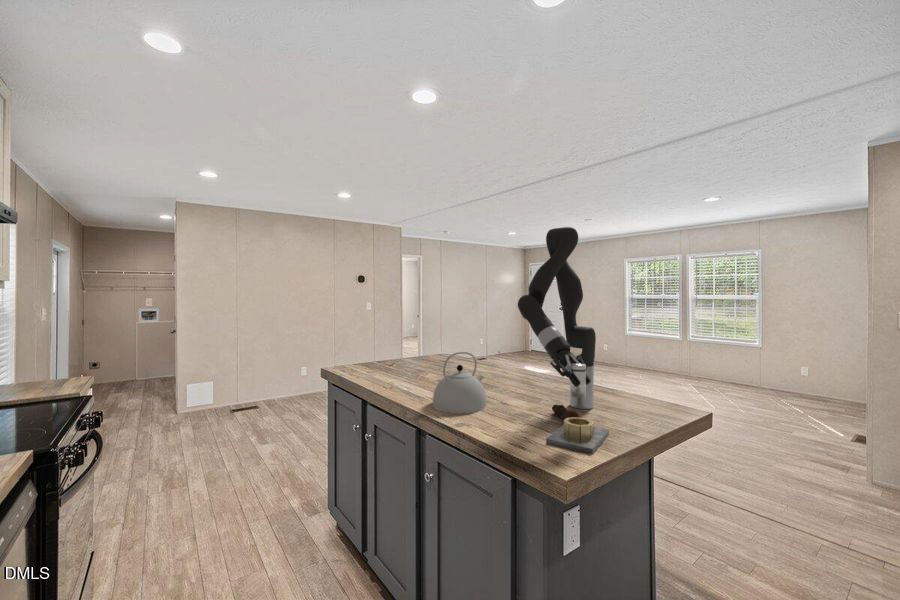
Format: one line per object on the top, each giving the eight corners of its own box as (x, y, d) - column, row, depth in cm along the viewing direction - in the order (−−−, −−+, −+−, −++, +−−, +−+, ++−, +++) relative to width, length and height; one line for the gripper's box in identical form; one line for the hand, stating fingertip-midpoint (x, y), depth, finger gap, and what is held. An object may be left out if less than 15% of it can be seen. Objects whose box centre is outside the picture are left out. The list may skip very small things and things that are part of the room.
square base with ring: (567, 425, 136) (567, 410, 136) (608, 434, 128) (608, 417, 128) (546, 443, 120) (546, 425, 120) (592, 454, 112) (592, 435, 112)
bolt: (557, 417, 152) (574, 429, 137) (546, 411, 151) (562, 422, 136) (564, 404, 152) (581, 414, 137) (553, 398, 152) (570, 408, 137)
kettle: (466, 395, 179) (466, 346, 179) (502, 406, 161) (502, 352, 161) (422, 404, 163) (422, 351, 163) (455, 417, 146) (456, 358, 145)
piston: (573, 393, 127) (573, 362, 127) (587, 395, 124) (587, 364, 124) (568, 396, 123) (568, 365, 123) (583, 398, 121) (583, 366, 121)
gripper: (545, 336, 126) (576, 380, 116) (573, 334, 134) (604, 374, 124) (533, 350, 130) (562, 394, 120) (561, 347, 138) (590, 388, 129)
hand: (583, 384), depth 122 cm, fingers closed on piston, 4 cm apart
